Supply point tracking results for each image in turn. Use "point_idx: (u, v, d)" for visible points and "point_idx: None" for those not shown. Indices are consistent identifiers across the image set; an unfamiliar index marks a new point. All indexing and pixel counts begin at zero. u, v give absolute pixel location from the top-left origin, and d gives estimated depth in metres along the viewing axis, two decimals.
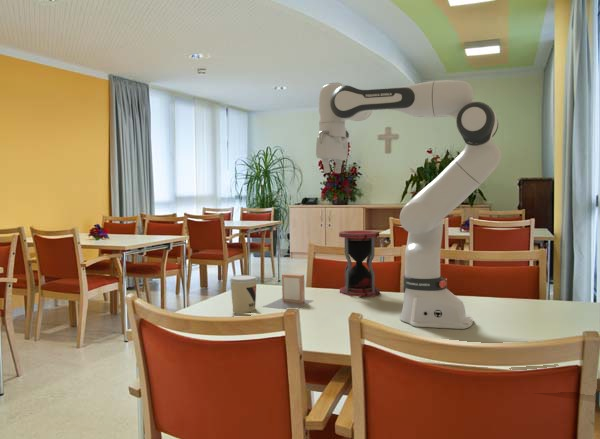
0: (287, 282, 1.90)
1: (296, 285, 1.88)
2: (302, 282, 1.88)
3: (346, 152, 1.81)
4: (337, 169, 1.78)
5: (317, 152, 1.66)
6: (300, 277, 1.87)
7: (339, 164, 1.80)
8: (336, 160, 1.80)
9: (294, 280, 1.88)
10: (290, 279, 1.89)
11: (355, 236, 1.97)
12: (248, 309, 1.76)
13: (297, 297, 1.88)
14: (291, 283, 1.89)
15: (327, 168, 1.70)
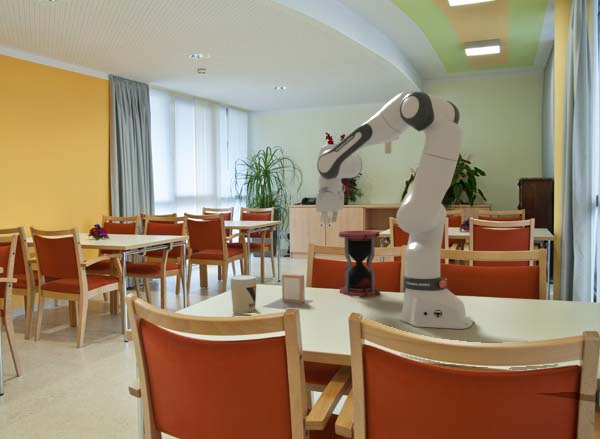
0: (287, 282, 1.90)
1: (296, 285, 1.88)
2: (302, 282, 1.88)
3: (342, 203, 2.04)
4: (333, 218, 2.01)
5: (317, 207, 1.89)
6: (300, 277, 1.87)
7: (335, 214, 2.02)
8: (333, 210, 2.02)
9: (294, 280, 1.88)
10: (290, 279, 1.89)
11: (355, 236, 1.97)
12: (248, 309, 1.76)
13: (297, 297, 1.88)
14: (291, 283, 1.89)
15: (326, 220, 1.94)
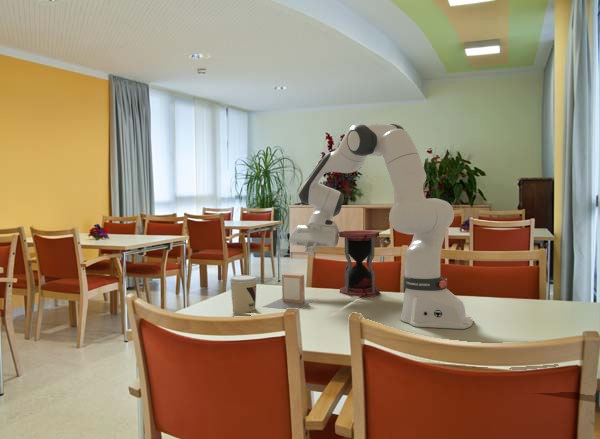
0: (287, 282, 1.90)
1: (296, 285, 1.88)
2: (302, 282, 1.88)
3: (332, 236, 2.01)
4: None
5: None
6: (300, 277, 1.87)
7: None
8: None
9: (294, 280, 1.88)
10: (290, 279, 1.89)
11: (355, 236, 1.97)
12: (248, 309, 1.76)
13: (297, 297, 1.88)
14: (291, 283, 1.89)
15: None
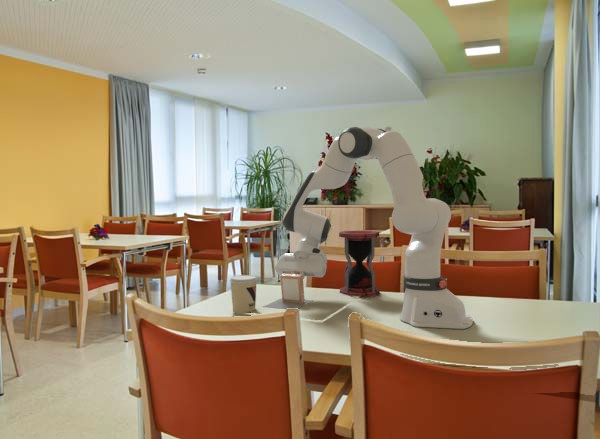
0: (286, 283, 1.89)
1: (295, 286, 1.87)
2: (301, 282, 1.87)
3: (319, 266, 1.90)
4: None
5: None
6: (298, 278, 1.86)
7: None
8: None
9: (293, 281, 1.87)
10: (289, 280, 1.88)
11: (355, 236, 1.97)
12: (248, 309, 1.76)
13: (297, 297, 1.88)
14: (290, 284, 1.88)
15: None
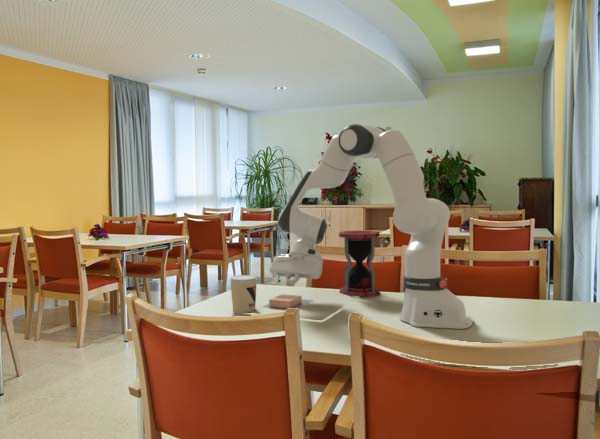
0: None
1: None
2: (292, 304, 1.81)
3: (314, 267, 1.86)
4: None
5: None
6: None
7: None
8: None
9: None
10: None
11: (355, 236, 1.97)
12: (248, 309, 1.76)
13: None
14: None
15: None
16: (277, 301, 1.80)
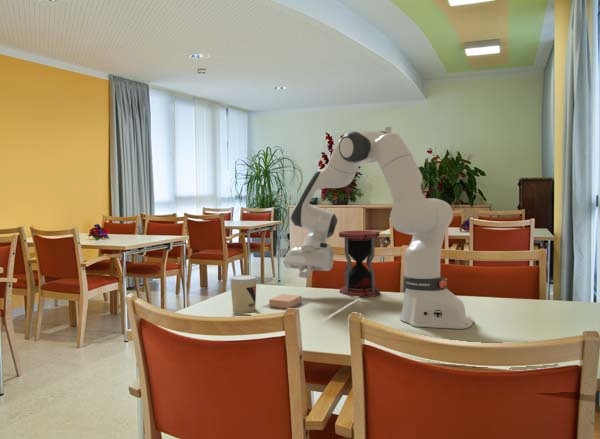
0: None
1: None
2: (292, 304, 1.81)
3: (326, 259, 1.97)
4: None
5: None
6: None
7: None
8: None
9: None
10: None
11: (355, 236, 1.97)
12: (248, 309, 1.76)
13: None
14: None
15: None
16: (277, 301, 1.80)
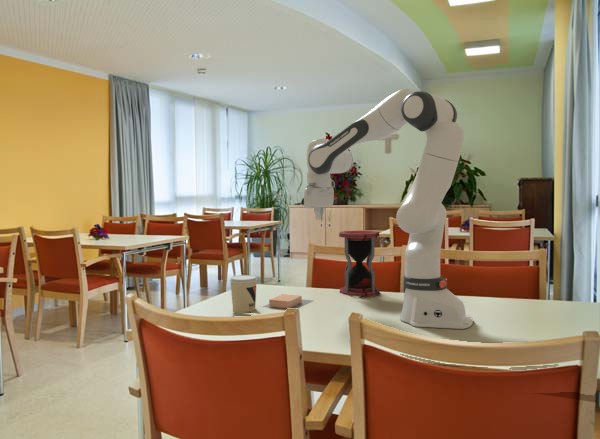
0: None
1: None
2: (292, 304, 1.81)
3: (332, 199, 2.00)
4: None
5: (305, 203, 1.85)
6: None
7: (321, 211, 1.95)
8: None
9: None
10: None
11: (355, 236, 1.97)
12: (248, 309, 1.76)
13: None
14: None
15: (318, 216, 1.92)
16: (277, 301, 1.80)
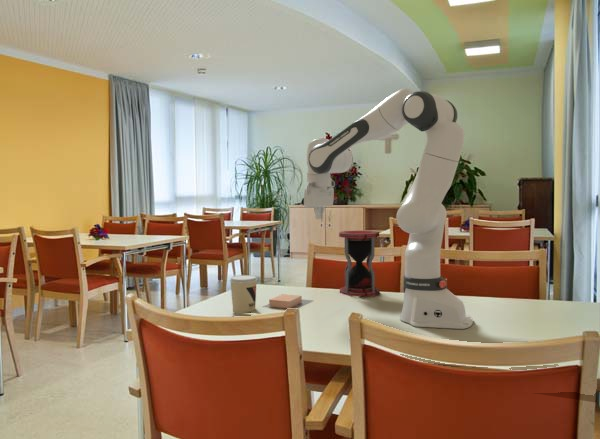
0: None
1: None
2: (292, 304, 1.81)
3: (332, 199, 2.00)
4: None
5: (305, 202, 1.85)
6: None
7: (321, 210, 1.94)
8: (319, 207, 1.94)
9: None
10: None
11: (355, 236, 1.97)
12: (248, 309, 1.76)
13: None
14: None
15: (318, 215, 1.92)
16: (277, 301, 1.80)
